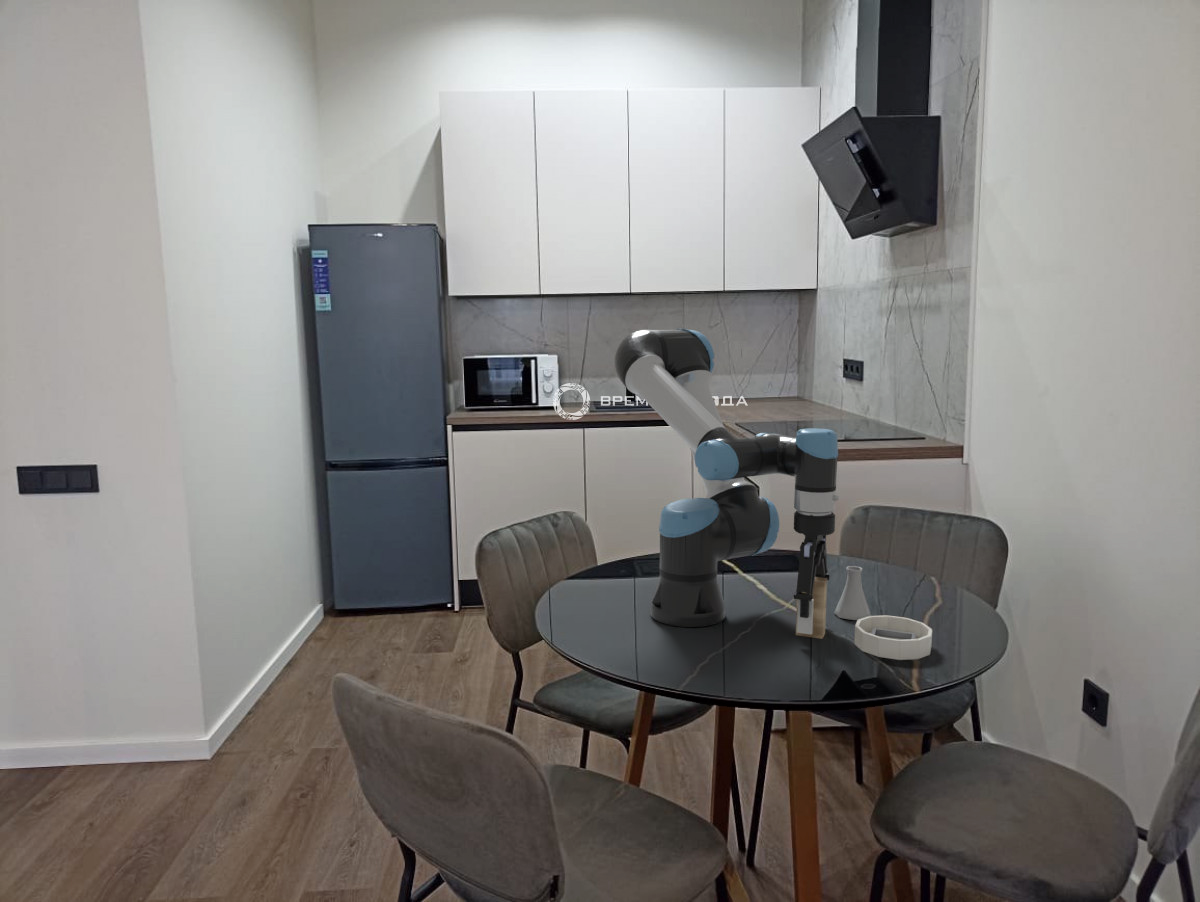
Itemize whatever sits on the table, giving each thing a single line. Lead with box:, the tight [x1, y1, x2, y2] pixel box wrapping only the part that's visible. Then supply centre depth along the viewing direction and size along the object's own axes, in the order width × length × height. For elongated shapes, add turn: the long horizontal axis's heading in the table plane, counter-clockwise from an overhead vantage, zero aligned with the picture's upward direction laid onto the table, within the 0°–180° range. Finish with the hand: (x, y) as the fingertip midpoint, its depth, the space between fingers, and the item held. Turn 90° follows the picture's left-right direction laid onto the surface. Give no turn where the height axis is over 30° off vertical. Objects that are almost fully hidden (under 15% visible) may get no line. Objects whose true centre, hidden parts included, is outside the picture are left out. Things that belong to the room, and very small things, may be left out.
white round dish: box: [853, 614, 933, 661], centre depth 160 cm, size 13×13×4 cm
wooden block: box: [795, 577, 828, 640], centre depth 165 cm, size 5×3×11 cm, turn 66°
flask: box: [834, 565, 872, 621], centre depth 176 cm, size 7×7×10 cm
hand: (810, 622), depth 166 cm, fingers open, 12 cm apart
